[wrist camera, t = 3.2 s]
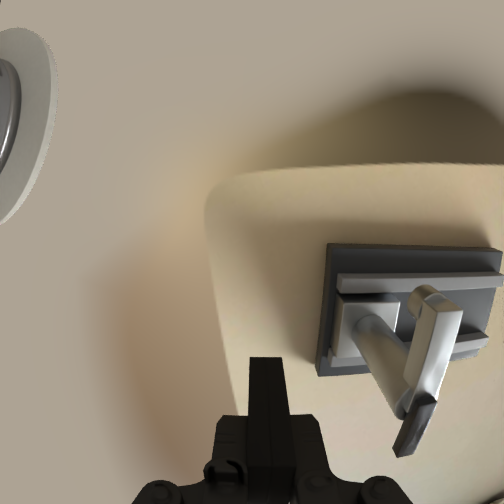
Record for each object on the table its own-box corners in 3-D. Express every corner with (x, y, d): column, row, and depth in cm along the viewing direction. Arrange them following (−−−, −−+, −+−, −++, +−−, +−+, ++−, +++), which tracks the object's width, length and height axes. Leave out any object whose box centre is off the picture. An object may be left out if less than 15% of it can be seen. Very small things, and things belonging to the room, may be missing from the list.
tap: (340, 246, 19) (416, 312, 9) (394, 247, 19) (493, 305, 9) (327, 355, 21) (368, 464, 11) (377, 352, 21) (437, 447, 11)
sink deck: (326, 242, 21) (336, 252, 18) (492, 247, 21) (511, 255, 18) (314, 366, 23) (320, 386, 21) (469, 349, 23) (483, 362, 21)
